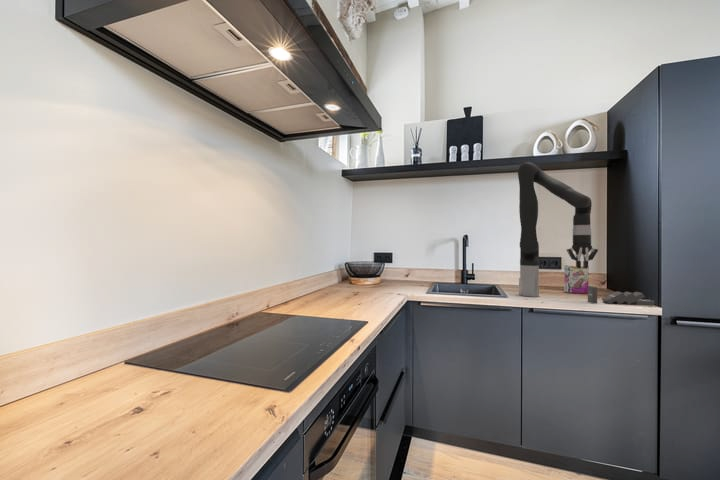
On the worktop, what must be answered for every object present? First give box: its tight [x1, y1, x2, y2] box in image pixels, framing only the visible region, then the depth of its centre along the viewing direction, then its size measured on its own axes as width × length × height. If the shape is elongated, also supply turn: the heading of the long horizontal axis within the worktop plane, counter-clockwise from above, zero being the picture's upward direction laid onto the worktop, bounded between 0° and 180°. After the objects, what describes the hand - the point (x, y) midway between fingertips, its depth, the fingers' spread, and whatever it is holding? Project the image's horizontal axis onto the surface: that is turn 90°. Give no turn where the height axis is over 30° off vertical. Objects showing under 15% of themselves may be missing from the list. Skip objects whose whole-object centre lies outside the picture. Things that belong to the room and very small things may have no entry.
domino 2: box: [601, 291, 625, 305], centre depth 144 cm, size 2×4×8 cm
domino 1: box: [587, 285, 598, 304], centre depth 146 cm, size 2×4×8 cm, turn 166°
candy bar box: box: [563, 264, 589, 295], centre depth 174 cm, size 11×5×16 cm, turn 84°
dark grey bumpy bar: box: [612, 291, 635, 305], centre depth 144 cm, size 2×4×8 cm
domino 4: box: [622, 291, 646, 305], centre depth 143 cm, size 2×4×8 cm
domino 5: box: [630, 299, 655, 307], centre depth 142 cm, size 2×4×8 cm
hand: (582, 268), depth 148 cm, fingers closed
